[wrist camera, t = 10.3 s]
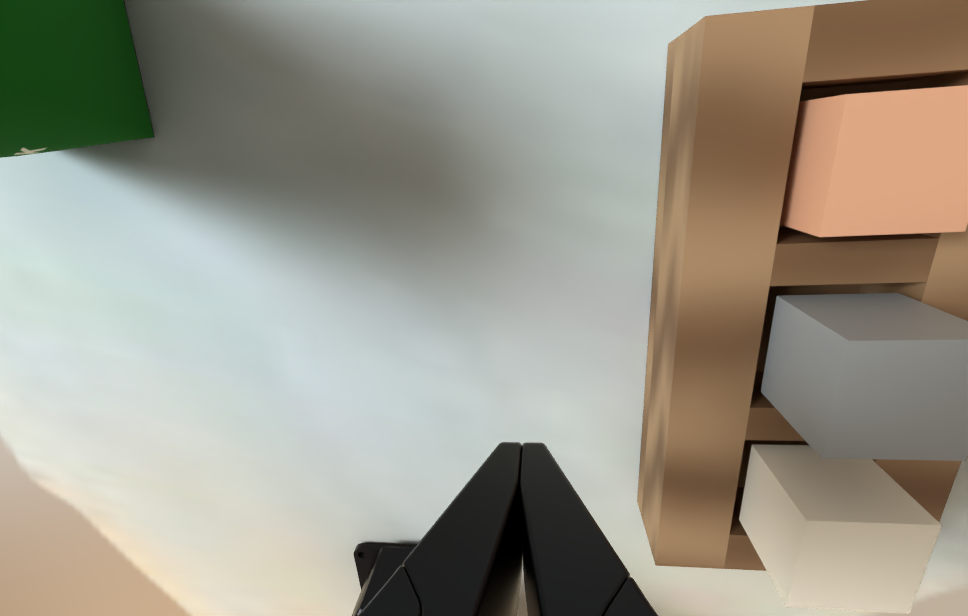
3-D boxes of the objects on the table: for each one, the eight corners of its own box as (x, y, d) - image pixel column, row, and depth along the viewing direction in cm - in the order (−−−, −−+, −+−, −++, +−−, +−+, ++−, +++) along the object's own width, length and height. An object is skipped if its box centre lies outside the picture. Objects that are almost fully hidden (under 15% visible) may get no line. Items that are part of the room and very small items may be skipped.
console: (856, 507, 23) (918, 577, 19) (637, 501, 24) (655, 565, 21) (994, 14, 16) (1139, -27, 12) (668, 44, 17) (705, 16, 13)
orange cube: (870, 212, 17) (965, 231, 13) (758, 217, 17) (819, 237, 14) (897, 96, 16) (1010, 81, 12) (774, 105, 16) (846, 94, 12)
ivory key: (837, 522, 19) (909, 613, 16) (739, 519, 20) (786, 606, 16) (857, 445, 18) (942, 525, 14) (751, 444, 18) (806, 520, 15)
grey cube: (872, 391, 17) (965, 460, 13) (760, 391, 18) (821, 458, 14) (898, 292, 16) (1010, 339, 12) (776, 295, 16) (848, 340, 13)
